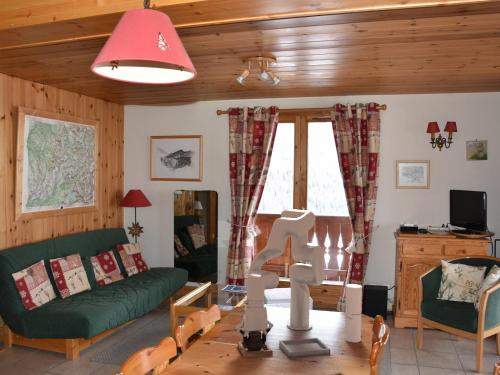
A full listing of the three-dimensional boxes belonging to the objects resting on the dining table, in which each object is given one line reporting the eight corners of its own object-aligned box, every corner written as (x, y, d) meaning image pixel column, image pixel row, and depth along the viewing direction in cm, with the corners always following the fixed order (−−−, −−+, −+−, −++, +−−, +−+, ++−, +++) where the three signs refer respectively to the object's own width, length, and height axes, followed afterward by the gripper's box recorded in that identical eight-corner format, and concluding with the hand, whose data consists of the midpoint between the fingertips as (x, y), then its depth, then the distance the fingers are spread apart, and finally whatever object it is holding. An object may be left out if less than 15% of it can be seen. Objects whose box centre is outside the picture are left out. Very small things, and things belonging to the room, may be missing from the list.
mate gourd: (254, 346, 198) (255, 323, 198) (266, 351, 193) (267, 328, 193) (242, 350, 193) (243, 327, 193) (255, 355, 188) (255, 331, 187)
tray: (279, 346, 199) (279, 340, 199) (317, 343, 203) (317, 337, 203) (289, 358, 185) (289, 352, 185) (330, 355, 190) (330, 349, 189)
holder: (237, 346, 198) (237, 341, 198) (263, 344, 201) (264, 339, 201) (244, 357, 185) (244, 352, 185) (272, 355, 188) (272, 350, 188)
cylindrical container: (361, 343, 204) (362, 288, 204) (344, 341, 206) (346, 287, 205) (360, 337, 211) (361, 284, 211) (344, 336, 213) (345, 283, 212)
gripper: (237, 306, 187) (236, 348, 187) (277, 304, 191) (276, 345, 191) (233, 301, 194) (232, 342, 194) (272, 299, 198) (271, 339, 198)
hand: (254, 343), depth 193 cm, fingers closed on mate gourd, 7 cm apart
